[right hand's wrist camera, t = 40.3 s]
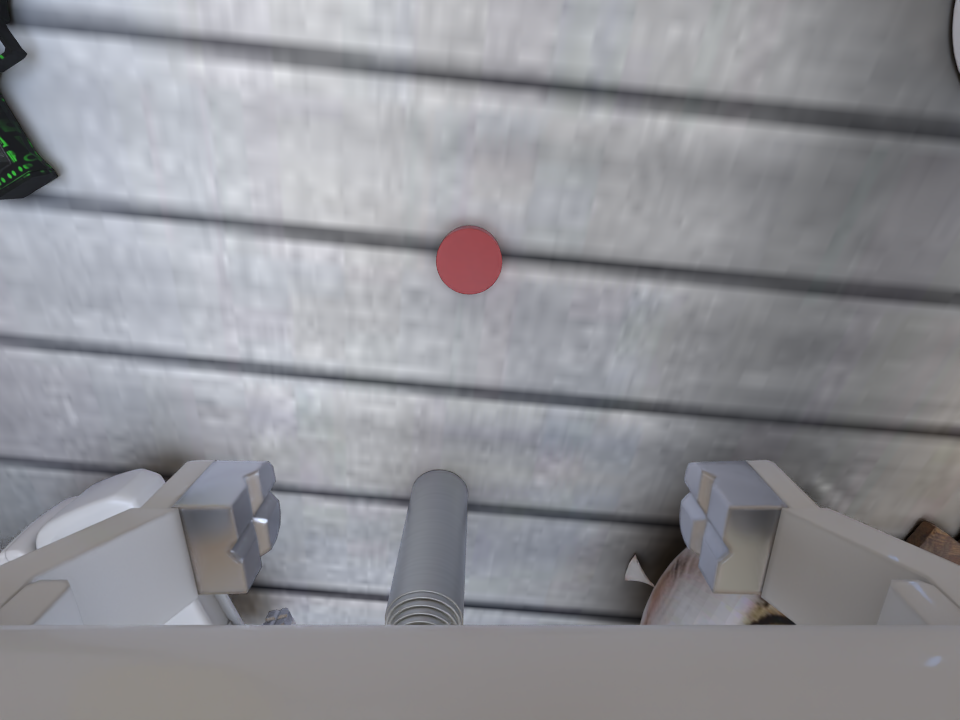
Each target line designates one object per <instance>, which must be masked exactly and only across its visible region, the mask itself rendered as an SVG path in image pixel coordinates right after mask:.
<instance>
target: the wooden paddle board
mask: <svg viewBox="0 0 960 720" xmlns="http://www.w3.org/2000/svg"><path fill="white" fill-rule="evenodd" d="M906 542H907V543H910V544H912V545H914V546H916V547H919V548H921V549H923V550H926V551H928V552H930V553H932V554H935V555H937V556H939V557H941V558H944V559H946V560H948V561H951V562H953V563H955V564H957V565H960V539H959V541H956V540H955V539H954V538H952V537H951V536H950V535H948V534H947V533H946V532H944V531H943V530H941V529H940V528H938V527H937V526H936V525H934V524H932V523H930V522H927V521H923V522H922V523H921V524H920V525H919V526H918V527H917V528H916V530H915V532H913V533H912V534H911V535H910V536H909V538H908V539H907V540H906Z"/></svg>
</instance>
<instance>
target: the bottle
mask: <svg viewBox="0 0 960 720" xmlns="http://www.w3.org/2000/svg"><path fill="white" fill-rule="evenodd" d="M467 508H468V490H467V487H466V485H465V483H464V482H463V480H462V479H461V478H460V477H459V476H457V475H456V474H454V473H452V472H449V471H445V470H434V471H430V472H427V473H425V474H423V475H422V476H420V477H419V478H418V479H417V480H416V482H415V483H414V485H413V488H412V492H411V497H410V502H409V506H408V511H407V516H406V520H405V525H404V530H403V534H402V539H401V544H400V549H399V553H398V558H397V563H396V567H395V572H394V577H393V581H392V586H391V591H390V595H389V600H388V605H387V609H386V614H385V625H463V611H464V586H465V560H466V534H467Z"/></svg>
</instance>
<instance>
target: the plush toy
mask: <svg viewBox="0 0 960 720" xmlns="http://www.w3.org/2000/svg"><path fill="white" fill-rule="evenodd" d="M699 558H700V557H699V556H698V555H696V554H695V553H693V552H692V551H690V550H689V549H688V547H686V548H685V549H684V550H683V551H682V552H681V553H680V554H679V555H678V556H677V557H676V558H675V559H674V560H673V561H672V562H671V564H670V565H669V566H668V567H667V569H666V570H665V571H664V573H663V574H662V575H661V577H660V579H659V580H658V582H657V584H656V585H654V584H653V583H652V582H651V581H650V580H649V578H648V577H647V576H646V574H645V573H644V571H643V569H642V568H641V566H640V564H639V561H638V559H637V557H636V554H635V555H634V557H633V558H632V560H631V561H630V563H629V565H628V568H627V571H626V574H625V581H628V580H633V581H640V582H644V583H647V584H649V585H651V586H653V587H654V589H653V591H652V593H651V595H650V597H649V599H648V602H647V604H646V607H645V609H644V612H643V615H642V619H641V623H640V625H796V624H795V623H794V622H793V621H791V620H790V619H789V618H787V617H786V616H785V615H784V614H782V613H781V612H780V611H778V610H777V609H776V608H775V607H773V606H772V605H771V604H769V603H768V602H767V601H766V600H764V599H763V598H762V597H761V595H750V594H714V593H713V592H712V591H711V589H710V587H709V585H708V584H707V582H706V580H705V578H704V576H703V575H702V573H701V571H700V569H699V567H698V564H699Z"/></svg>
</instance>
